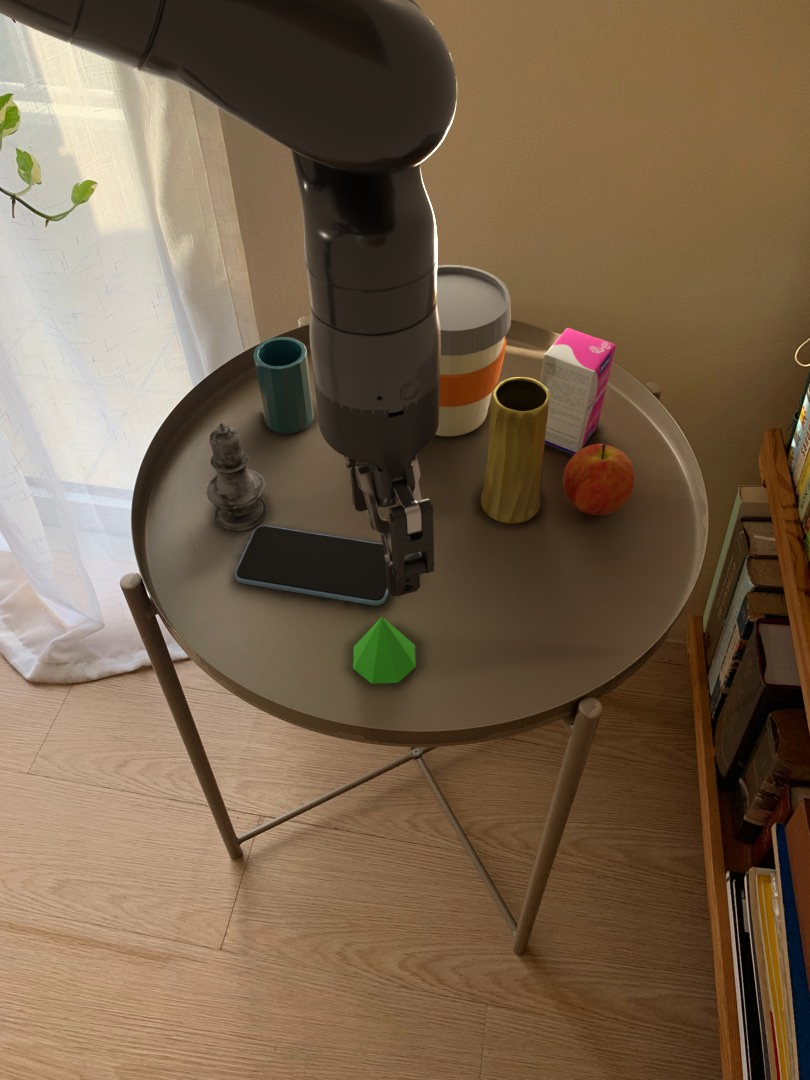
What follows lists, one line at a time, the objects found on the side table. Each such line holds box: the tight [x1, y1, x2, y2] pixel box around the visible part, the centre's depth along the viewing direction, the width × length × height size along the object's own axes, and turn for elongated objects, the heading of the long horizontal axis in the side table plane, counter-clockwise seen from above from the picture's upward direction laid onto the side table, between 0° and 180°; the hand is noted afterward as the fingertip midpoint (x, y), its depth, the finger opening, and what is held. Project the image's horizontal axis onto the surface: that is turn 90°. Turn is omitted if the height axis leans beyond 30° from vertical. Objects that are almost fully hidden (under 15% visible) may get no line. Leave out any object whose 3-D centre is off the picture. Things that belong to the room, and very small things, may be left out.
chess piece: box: [205, 422, 268, 532], centre depth 87 cm, size 6×6×12 cm
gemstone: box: [352, 616, 417, 685], centre depth 77 cm, size 6×6×6 cm
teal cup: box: [252, 336, 315, 435], centre depth 98 cm, size 6×6×9 cm
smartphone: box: [234, 525, 390, 606], centre depth 86 cm, size 7×1×15 cm
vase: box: [480, 376, 550, 525], centre depth 86 cm, size 6×6×14 cm
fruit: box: [562, 443, 635, 516], centre depth 88 cm, size 7×7×8 cm
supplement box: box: [539, 327, 617, 456], centre depth 94 cm, size 6×6×12 cm
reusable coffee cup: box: [435, 264, 512, 437], centre depth 96 cm, size 13×13×15 cm
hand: (385, 546), depth 64 cm, fingers open, 8 cm apart
